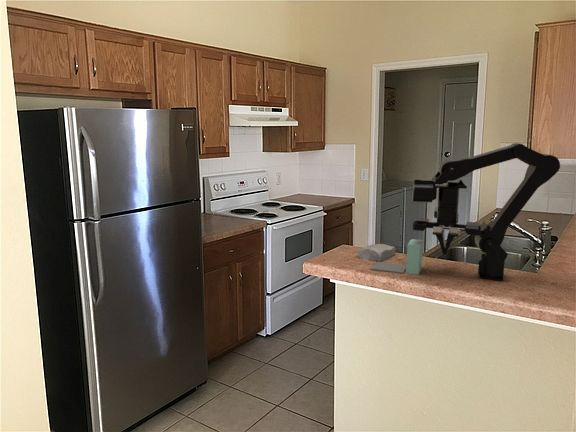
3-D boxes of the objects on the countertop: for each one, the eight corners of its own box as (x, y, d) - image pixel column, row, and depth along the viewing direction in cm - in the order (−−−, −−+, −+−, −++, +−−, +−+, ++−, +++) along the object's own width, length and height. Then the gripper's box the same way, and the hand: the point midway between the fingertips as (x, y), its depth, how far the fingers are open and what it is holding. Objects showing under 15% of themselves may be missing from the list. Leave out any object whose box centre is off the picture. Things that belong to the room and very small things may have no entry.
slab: (421, 268, 150) (423, 240, 148) (418, 274, 144) (419, 245, 142) (409, 266, 151) (411, 239, 150) (406, 273, 145) (407, 244, 143)
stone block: (355, 263, 162) (382, 262, 156) (353, 249, 162) (380, 248, 156) (372, 257, 171) (397, 256, 165) (370, 243, 171) (396, 242, 165)
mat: (407, 266, 152) (407, 265, 152) (403, 273, 144) (403, 272, 144) (376, 262, 156) (376, 261, 155) (370, 269, 148) (370, 268, 148)
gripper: (483, 201, 143) (479, 251, 146) (419, 197, 151) (417, 245, 154) (482, 206, 133) (477, 260, 136) (413, 202, 141) (411, 253, 144)
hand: (444, 254), depth 143 cm, fingers closed
